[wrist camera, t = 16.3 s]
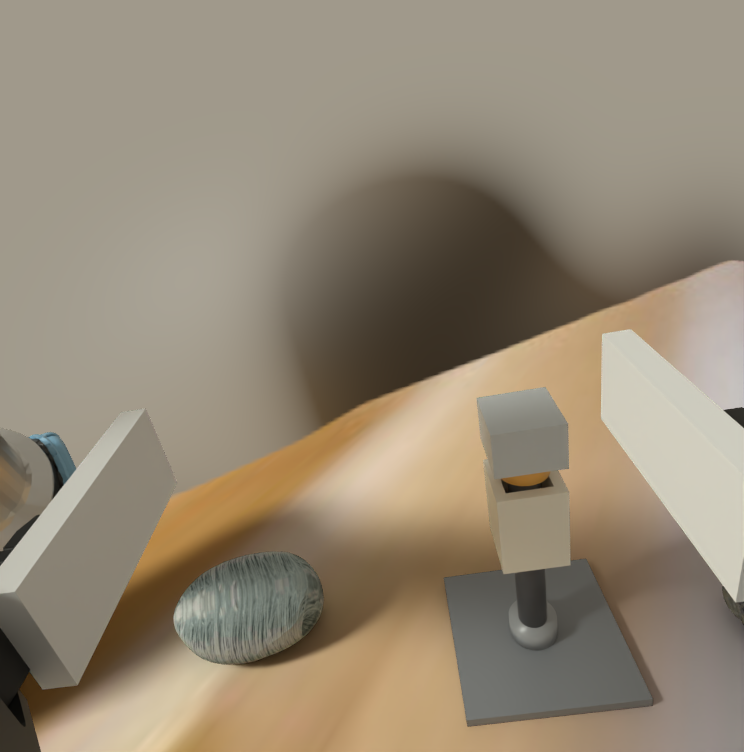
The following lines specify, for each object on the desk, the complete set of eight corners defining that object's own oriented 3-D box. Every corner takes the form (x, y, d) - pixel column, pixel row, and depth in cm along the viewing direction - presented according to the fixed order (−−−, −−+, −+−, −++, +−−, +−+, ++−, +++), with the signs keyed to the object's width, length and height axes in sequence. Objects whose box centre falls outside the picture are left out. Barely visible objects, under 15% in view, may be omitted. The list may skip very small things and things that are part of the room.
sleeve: (570, 565, 41) (569, 492, 38) (503, 574, 41) (496, 502, 38) (550, 519, 45) (547, 450, 42) (490, 527, 46) (482, 460, 42)
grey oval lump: (329, 547, 57) (284, 519, 49) (346, 644, 52) (299, 630, 44) (217, 588, 60) (157, 567, 52) (221, 685, 54) (155, 678, 46)
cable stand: (652, 705, 41) (675, 453, 31) (467, 726, 42) (428, 489, 32) (586, 564, 54) (586, 351, 43) (444, 583, 55) (411, 379, 44)
